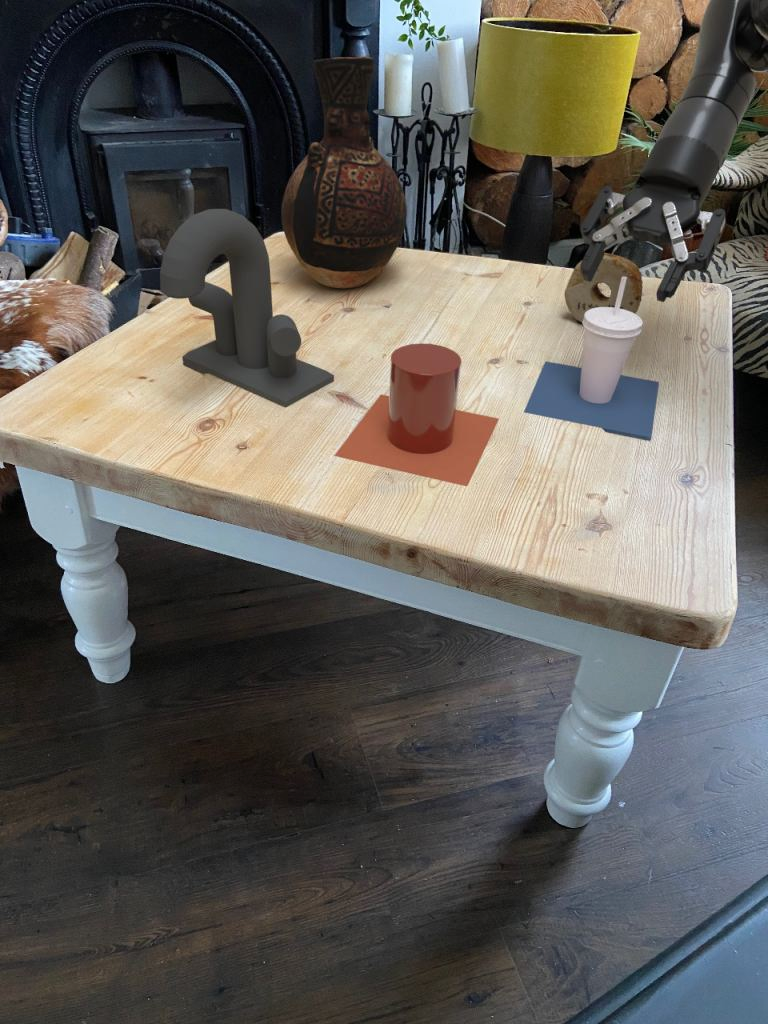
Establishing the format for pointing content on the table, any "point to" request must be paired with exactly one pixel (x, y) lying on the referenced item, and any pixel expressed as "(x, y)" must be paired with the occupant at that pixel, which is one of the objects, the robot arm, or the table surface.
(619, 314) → the smoothie
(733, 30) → the robot arm
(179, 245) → the faucet
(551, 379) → the blue mat
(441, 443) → the canister
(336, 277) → the ceramic vessel
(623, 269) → the stone disc
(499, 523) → the table surface
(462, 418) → the terracotta mat
